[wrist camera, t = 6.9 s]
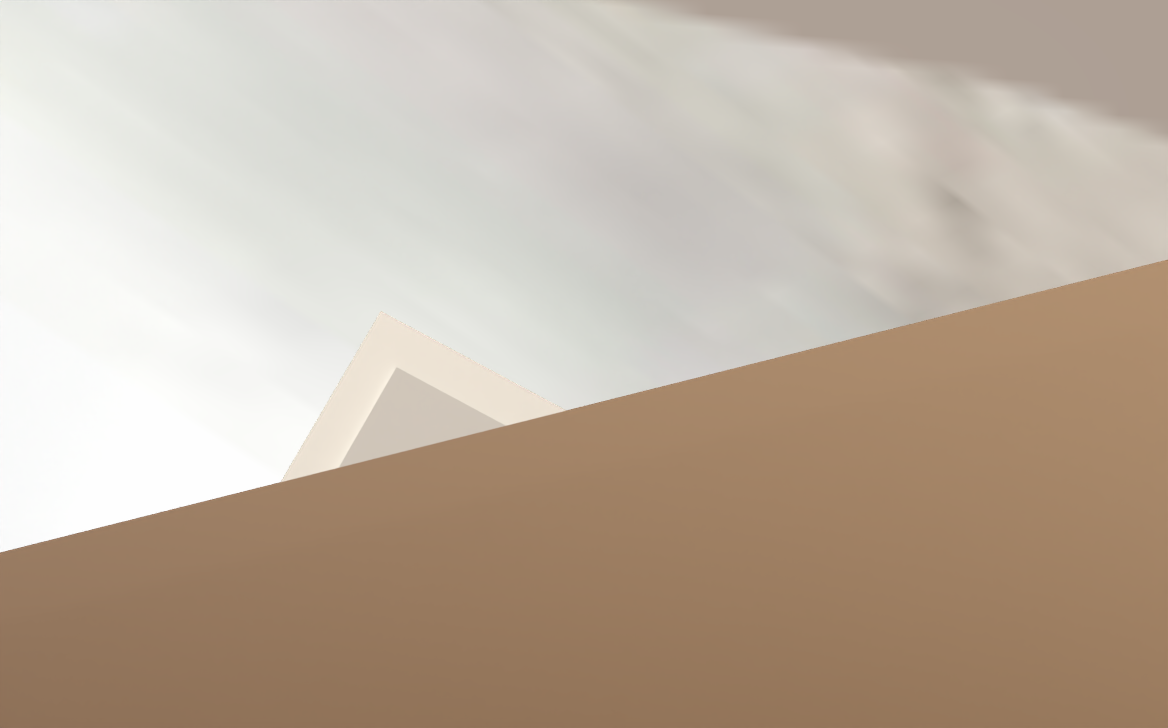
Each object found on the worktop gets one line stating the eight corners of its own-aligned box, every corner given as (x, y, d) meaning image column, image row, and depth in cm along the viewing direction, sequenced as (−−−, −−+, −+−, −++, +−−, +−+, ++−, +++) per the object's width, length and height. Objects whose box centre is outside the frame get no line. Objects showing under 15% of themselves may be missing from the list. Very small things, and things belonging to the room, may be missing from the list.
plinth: (830, 570, 20) (872, 572, 17) (601, 1065, 18) (616, 1134, 16) (390, 335, 20) (379, 308, 17) (118, 805, 18) (68, 839, 16)
